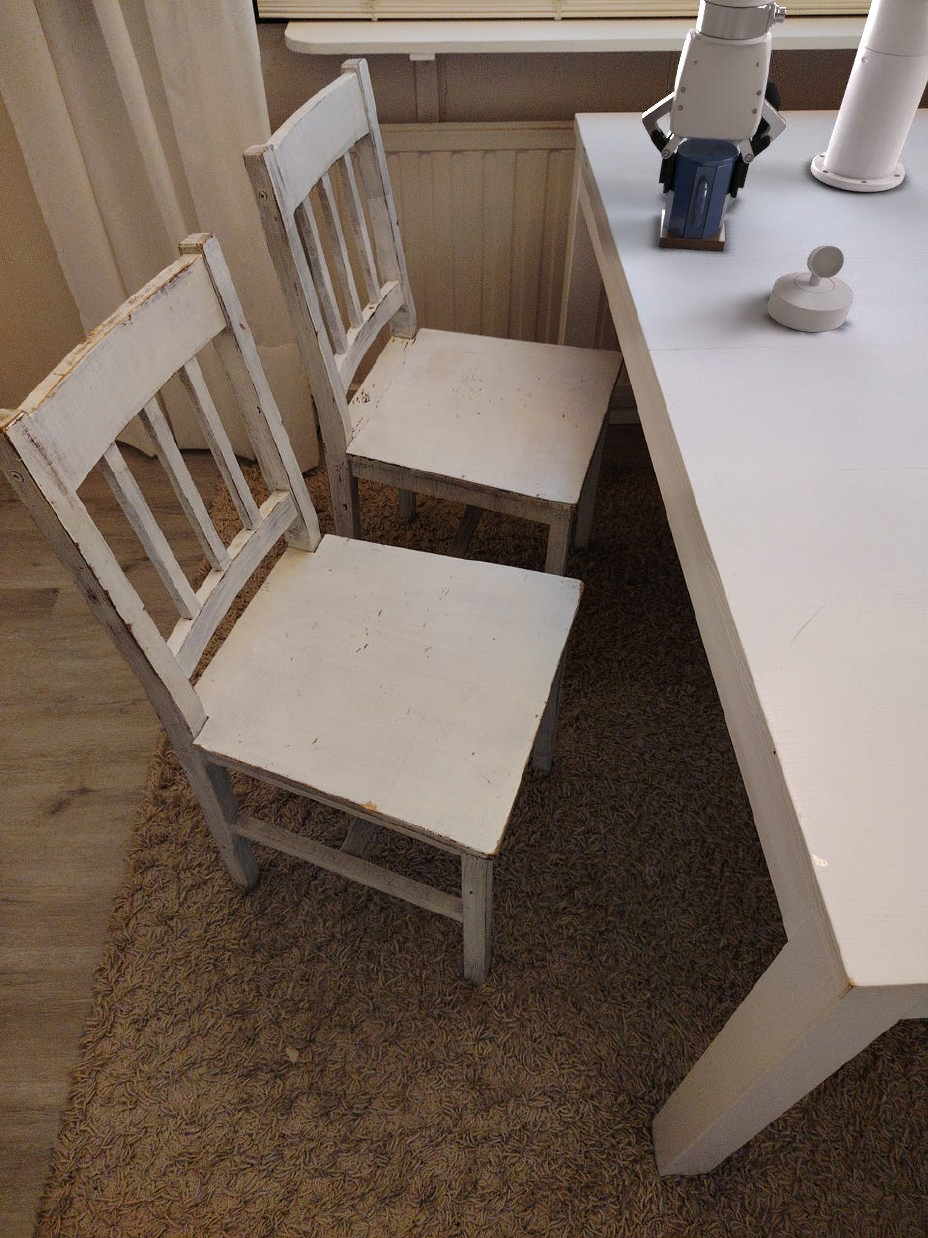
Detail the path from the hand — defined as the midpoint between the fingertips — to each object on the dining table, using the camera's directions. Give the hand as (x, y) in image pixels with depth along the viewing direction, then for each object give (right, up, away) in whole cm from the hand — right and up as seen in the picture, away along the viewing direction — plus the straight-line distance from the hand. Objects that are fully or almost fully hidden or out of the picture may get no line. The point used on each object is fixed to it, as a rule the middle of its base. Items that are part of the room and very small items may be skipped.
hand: (699, 190), depth 99 cm
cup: (0, -3, +3) cm, 4 cm away
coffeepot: (+4, +4, +10) cm, 12 cm away
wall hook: (+10, -19, -8) cm, 23 cm away
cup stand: (0, -3, +4) cm, 5 cm away
